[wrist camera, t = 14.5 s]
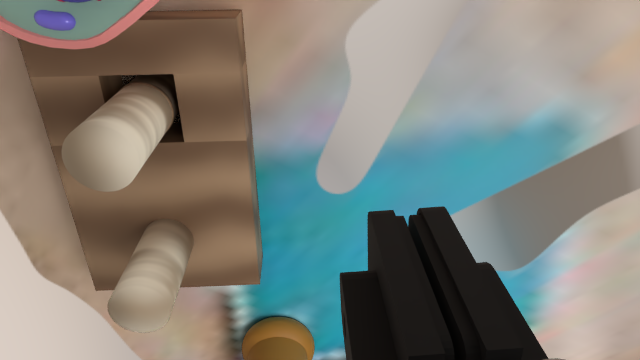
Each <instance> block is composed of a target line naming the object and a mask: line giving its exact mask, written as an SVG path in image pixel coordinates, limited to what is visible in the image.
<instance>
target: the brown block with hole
mask: <svg viewBox="0 0 640 360" xmlns="http://www.w3.org/2000/svg"><path fill="white" fill-rule="evenodd" d="M18 41H19V45H20V48H21V51H22V54H23V57H24V61H25V64H26V67H27V70H28V74H29V77H30V80H31V83H32V86H33V90H34V93H35V96H36V99H37V103H38V106H39V109H40V112H41V115H42V119H43V122H44V125H45V128H46V132H47V135H48V138H49V141H50V144H51V148H52V151H53V154H54V157H55V161H56V164H57V167H58V170H59V173H60V177H61V180H62V183H63V186H64V190H65V193H66V196H67V199H68V202H69V206H70V209H71V212H72V215H73V219H74V222H75V225H76V228H77V231H78V235H79V238H80V241H81V244H82V248H83V251H84V254H85V257H86V260H87V264H88V267H89V270H90V273H91V277H92V280H93V283H94V286H95V289H96V291H100V290H114V291H113V293H112V295H111V297H110V299H109V302H108V312H109V315H110V317H111V318H112V319H113V321H114V322H115V323H117V324H118V325H119V326H121V327H122V328H124V329H127V330H129V331H133V332H139V333H147V332H153V331H156V330H158V329H160V328H162V327H163V326H165V325H166V323H167V322H168V320H169V318H170V315H171V312H172V309H173V306H174V303H175V300H176V297H177V294H178V291H179V288H180V287H200V286H225V285H250V284H260V278H261V268H262V258H263V253H262V242H261V230H260V218H259V206H258V195H257V183H256V171H255V159H254V148H253V136H252V124H251V112H250V101H249V89H248V77H247V65H246V54H245V42H244V30H243V18H242V10H205V11H147V12H146V13H145V14H144V15H143V16H141V17H140V18H139V19H138V20H137V21H136V22H135V23H133V24H132V25H131V26H130V27H128V28H127V29H126V30H124V31H123V32H122V33H120V34H119V35H118V36H116V37H115V38H113V39H111V40H110V41H108V42H106V43H104V44H102V45H99V46H96V47H93V48H85V49H64V48H52V47H47V46H42V45H38V44H34V43H30V42H28V41H25V40H22V39H20V38H18ZM151 74H173V75H174V81H175V87H176V93H177V99H178V106H179V112H180V118H181V123H172V125H171V127H170V128H169V130H168V131H167V132H166V133H165V134H164V136H163V137H162V139H161V140H160V142H159V143H158V144H157V146H156V147H155V149H154V150H153V152H152V153H151V155H150V156H149V158H148V159H147V161H146V162H145V163H144V165H143V166H142V168H141V169H140V171H139V172H138V174H137V175H136V177H135V178H134V179H133V181H132V182H131V183H130V184H129V185H128V186H126V187H125V188H123V189H120V190H117V191H111V192H103V191H97V190H93V189H90V188H88V187H86V186H84V185H82V184H81V183H79V182H78V181H77V180H75V179H74V178H73V177H72V176H71V174H70V173H69V172H68V170H67V169H66V167H65V165H64V162H63V159H62V145H63V142H64V140H65V138H66V137H67V136H68V135H69V133H71V132H72V131H73V130H74V129H75V128H76V127H78V126H79V125H80V124H81V123H82V122H84V121H85V120H86V119H87V118H88V117H89V116H91V115H92V114H93V113H94V112H95V111H97V110H98V109H99V108H100V107H101V106H102V105H104V104H105V103H106V102H107V101H108V100H109V99H111V98H112V97H113V96H114V95H115V94H117V92H118V91H119V90H120V89H121V88H122V87H124V85H123V80H122V76H121V75H151Z"/></svg>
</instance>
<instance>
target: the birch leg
mask: <svg viewBox="0 0 640 360" xmlns="http://www.w3.org/2000/svg"><path fill="white" fill-rule="evenodd" d="M178 114H179V106H178V99H177V93H176V87H175V81H174V75H173V74H151V75H138V76H137V77H135V78H134V79H133V80H132V81H131V82H130V83H128V84H127V85H125V86H124V87H122V88H121V89H120V90H119V91H118V92H117V94H115V95H114V96H113V97H112V98H111V99H109V100H108V101H107V102H106V103H105V104H104V105H102V106H101V107H100V108H99V109H98V110H97V111H95V112H94V113H93V114H92V115H91V116H89V117H88V118H87V119H86V120H85V121H84V122H82V123H81V124H80V125H79V126H78V127H76V128H75V129H74V130H73V131H72V132H71V133H69V135H68V136H67V137H66V138H65V140H64V142H63V145H62V159H63V162H64V165H65V167H66V169H67V170H68V172H69V173H70V174H71V176H72V177H73V178H74V179H75V180H77V181H78V182H79V183H81V184H82V185H84V186H86V187H88V188H90V189H93V190H97V191H103V192H111V191H117V190H120V189H123V188H125V187H126V186H128V185H129V184H130V183H131V182H132V181H133V179H134V178H135V177H136V175H137V174H138V172H139V171H140V169H141V168H142V166H143V165H144V163H145V162H146V161H147V159H148V158H149V156H150V155H151V153H152V152H153V150H154V149H155V147H156V146H157V144H158V143H159V142H160V140H161V139H162V137H163V136H164V134H165V133H166V132H167V131H168V130H169V128H170V127H171V125H172V123H173V121H174V120H175V118H176V117H177V115H178Z"/></svg>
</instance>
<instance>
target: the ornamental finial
mask: <svg viewBox="0 0 640 360" xmlns="http://www.w3.org/2000/svg"><path fill="white" fill-rule="evenodd" d="M242 354H243V358H244V360H312V357H313V354H314V340H313V337H312V335H311V333H310V331H309V330H308V329H307V328H306V327H305V326H304V325H303V324H302V323H300V322H298V321H296V320H294V319H291V318H287V317H271V318H266V319H264V320H261V321H259V322H257V323H256V324H255V325H253V326H252V327H251V328H250V329H249V330H248V332H247V333H246V335H245V337H244V339H243V343H242Z"/></svg>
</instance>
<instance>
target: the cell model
mask: <svg viewBox="0 0 640 360" xmlns="http://www.w3.org/2000/svg"><path fill="white" fill-rule="evenodd" d="M158 1H159V0H0V29H1V30H3V31H5V32H7V33H9V34H11V35H13V36H15V37H17V38H20V39H22V40H25V41H28V42H30V43H34V44H38V45H42V46H47V47H52V48H64V49H85V48H93V47H96V46H99V45H102V44H104V43H106V42H108V41H110V40H111V39H113V38H115V37H116V36H118V35H119V34H120V33H122V32H123V31H124V30H126V29H127V28H128V27H130V26H131V25H132V24H133V23H135V22H136V21H137V20H138V19H139V18H140V17H141V16H143V15H144V14H145V13H146V12H147V11H148V10H149V9H151V8H152V7H153V6H154V5H155V4H156V3H157V2H158Z"/></svg>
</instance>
